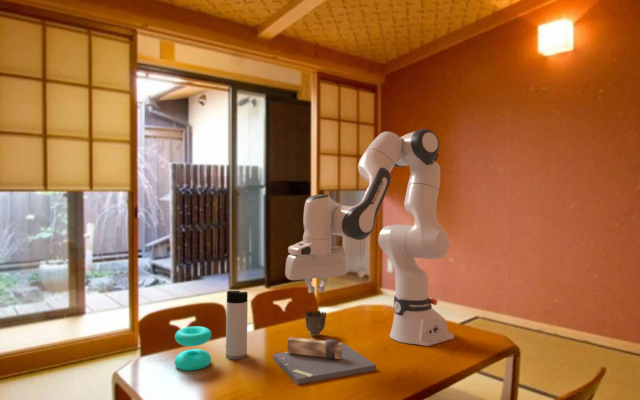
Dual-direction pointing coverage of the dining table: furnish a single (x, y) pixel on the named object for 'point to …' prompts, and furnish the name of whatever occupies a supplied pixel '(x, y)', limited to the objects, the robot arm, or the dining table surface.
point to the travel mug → (236, 324)
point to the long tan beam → (315, 347)
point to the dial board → (322, 365)
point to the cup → (315, 322)
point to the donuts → (192, 357)
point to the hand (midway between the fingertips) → (316, 291)
